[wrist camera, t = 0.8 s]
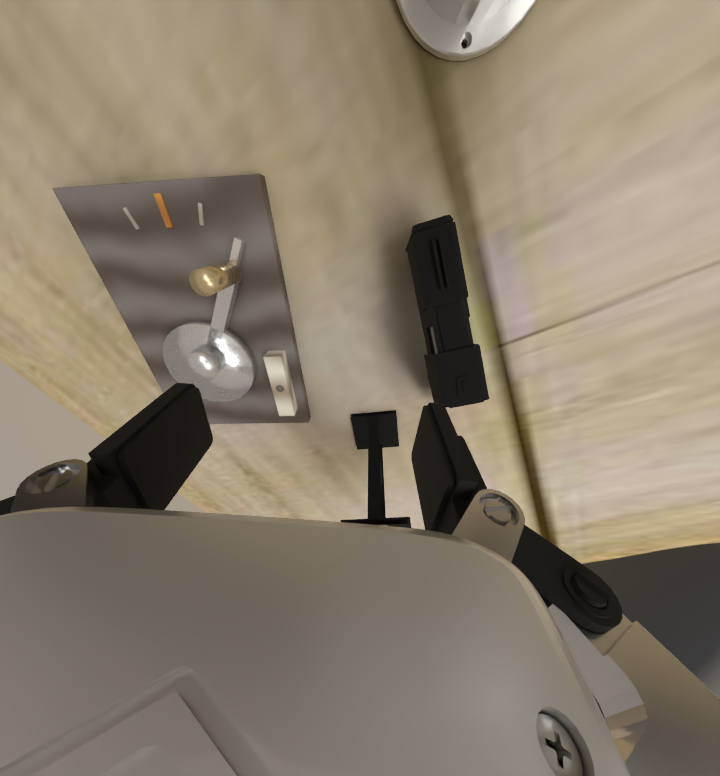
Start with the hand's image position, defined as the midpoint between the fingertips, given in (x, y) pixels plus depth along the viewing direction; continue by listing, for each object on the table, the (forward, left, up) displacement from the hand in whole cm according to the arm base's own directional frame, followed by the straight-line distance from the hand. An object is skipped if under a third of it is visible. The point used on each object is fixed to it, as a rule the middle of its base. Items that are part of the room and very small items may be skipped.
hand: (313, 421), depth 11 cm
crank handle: (+4, -17, -24) cm, 30 cm away
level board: (+5, -19, -26) cm, 33 cm away
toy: (+5, +11, -26) cm, 29 cm away
